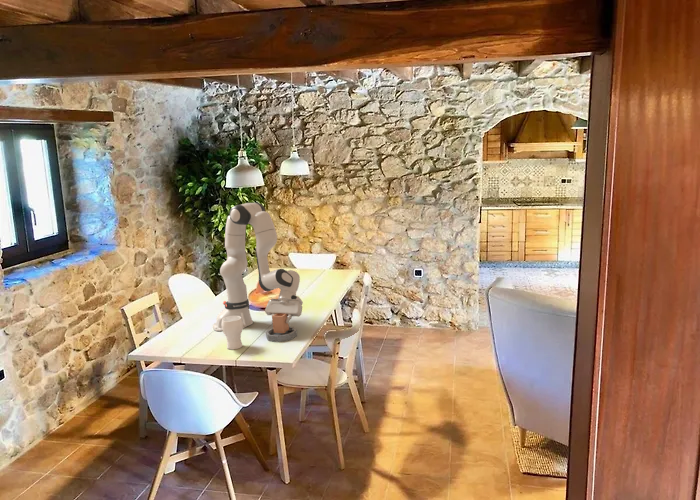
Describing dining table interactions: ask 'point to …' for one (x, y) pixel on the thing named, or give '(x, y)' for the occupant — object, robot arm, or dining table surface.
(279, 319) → the pot
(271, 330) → the dish
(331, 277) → the dining table surface
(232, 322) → the cup
